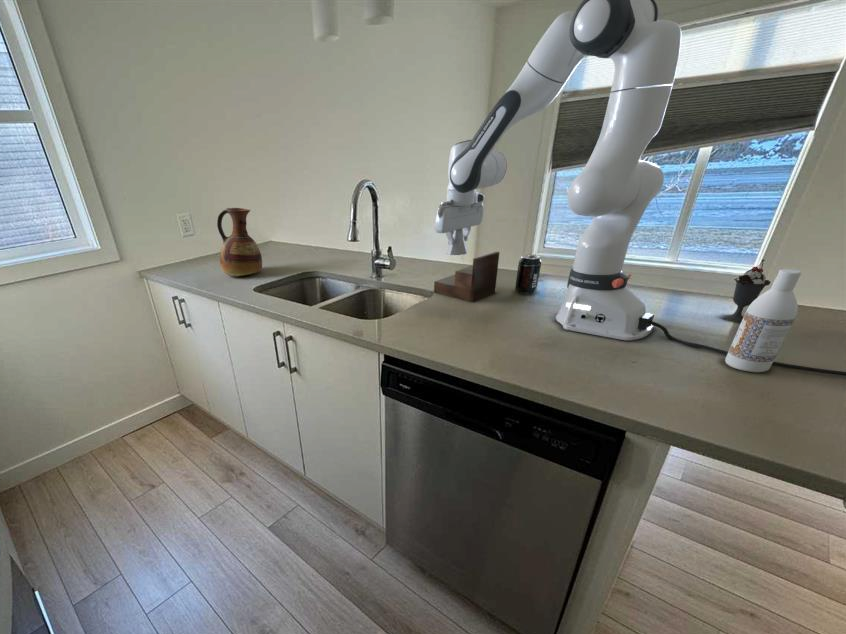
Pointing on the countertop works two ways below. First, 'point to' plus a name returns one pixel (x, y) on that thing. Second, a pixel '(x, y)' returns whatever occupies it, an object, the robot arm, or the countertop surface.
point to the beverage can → (528, 274)
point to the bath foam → (765, 325)
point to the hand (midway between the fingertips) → (457, 242)
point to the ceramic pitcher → (238, 246)
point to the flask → (458, 244)
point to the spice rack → (471, 279)
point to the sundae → (747, 291)
